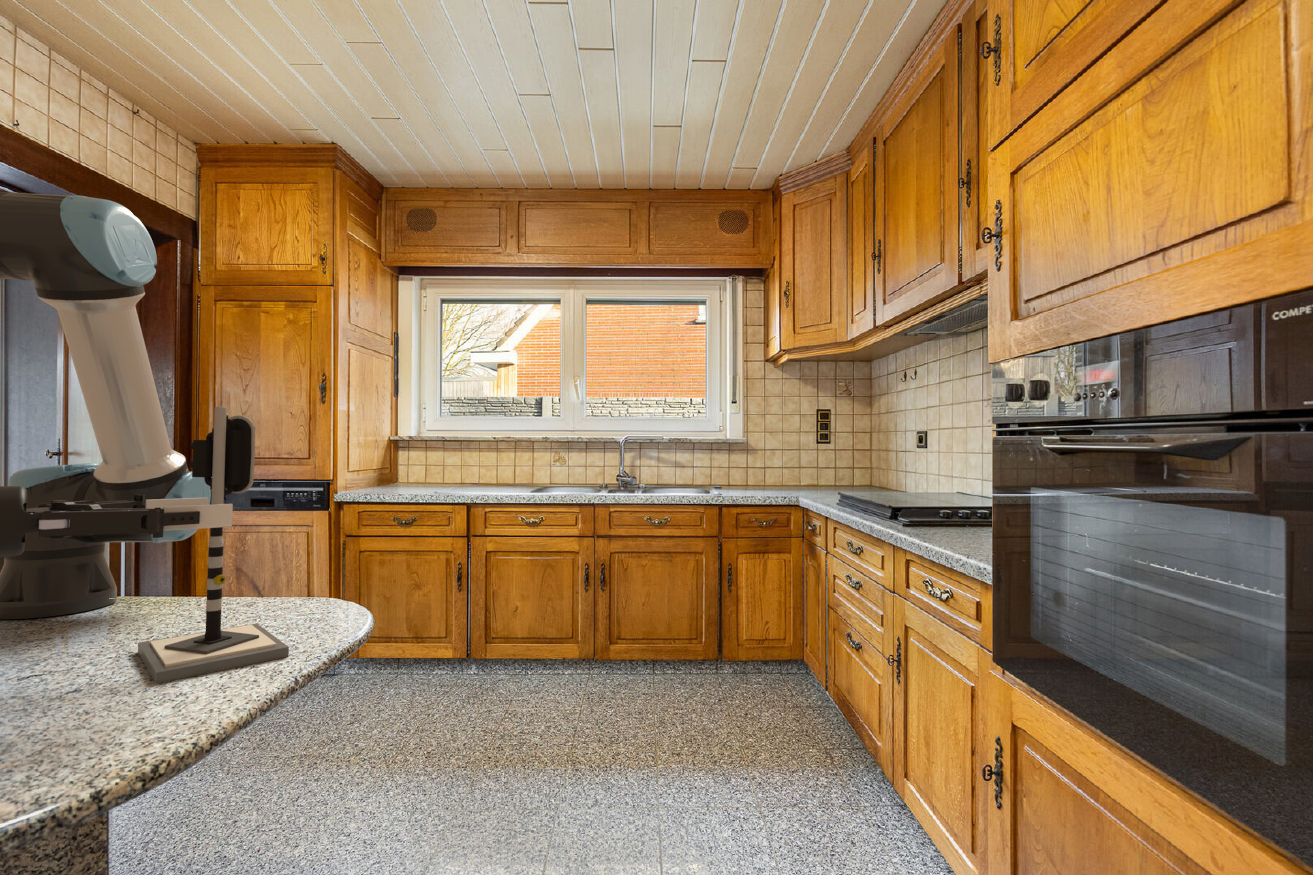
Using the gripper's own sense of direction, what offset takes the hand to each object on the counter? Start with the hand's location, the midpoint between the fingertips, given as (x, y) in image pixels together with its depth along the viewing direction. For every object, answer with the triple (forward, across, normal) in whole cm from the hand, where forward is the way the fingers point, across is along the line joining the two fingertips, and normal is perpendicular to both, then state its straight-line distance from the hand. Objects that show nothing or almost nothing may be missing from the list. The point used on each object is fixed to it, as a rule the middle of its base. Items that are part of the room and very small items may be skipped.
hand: (219, 511), depth 78 cm
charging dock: (0, +1, -18) cm, 18 cm away
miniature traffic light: (0, +1, -17) cm, 17 cm away
